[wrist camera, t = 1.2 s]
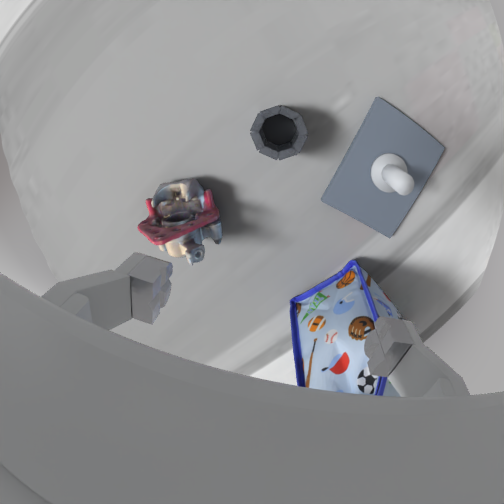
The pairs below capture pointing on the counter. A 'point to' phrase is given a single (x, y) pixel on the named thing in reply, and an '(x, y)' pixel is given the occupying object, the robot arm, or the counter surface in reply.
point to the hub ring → (283, 149)
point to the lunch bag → (339, 333)
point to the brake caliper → (182, 219)
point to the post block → (383, 169)
